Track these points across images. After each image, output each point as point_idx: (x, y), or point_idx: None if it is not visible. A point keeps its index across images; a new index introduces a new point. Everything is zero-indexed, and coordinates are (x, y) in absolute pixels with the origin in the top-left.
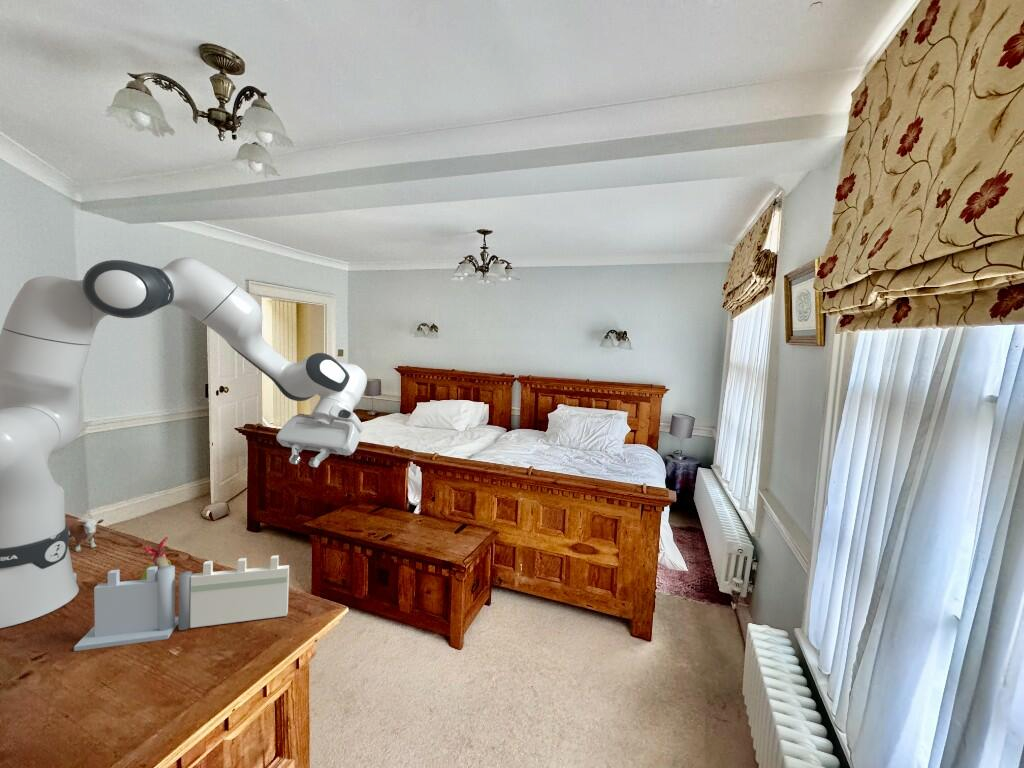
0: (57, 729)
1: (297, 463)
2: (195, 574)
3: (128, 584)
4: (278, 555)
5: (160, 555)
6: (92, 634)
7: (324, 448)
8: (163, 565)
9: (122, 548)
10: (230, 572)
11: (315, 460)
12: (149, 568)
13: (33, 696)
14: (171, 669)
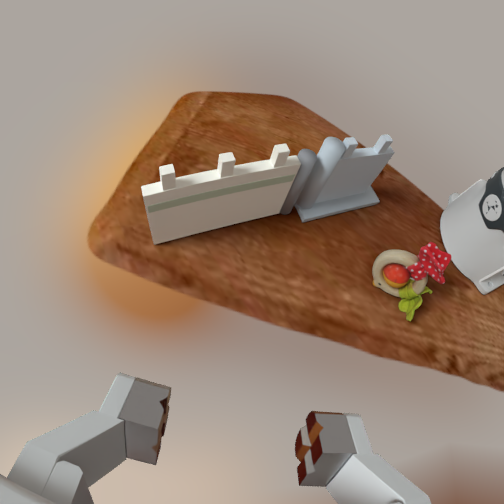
0: (281, 109)
1: (297, 443)
2: (295, 161)
3: (362, 148)
4: (161, 173)
5: (419, 261)
6: (367, 190)
7: (29, 481)
8: (397, 251)
9: (499, 366)
10: (242, 167)
11: (111, 391)
12: (354, 140)
13: (333, 134)
14: (243, 152)
